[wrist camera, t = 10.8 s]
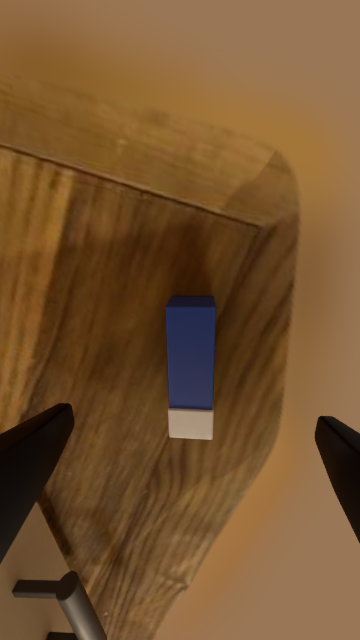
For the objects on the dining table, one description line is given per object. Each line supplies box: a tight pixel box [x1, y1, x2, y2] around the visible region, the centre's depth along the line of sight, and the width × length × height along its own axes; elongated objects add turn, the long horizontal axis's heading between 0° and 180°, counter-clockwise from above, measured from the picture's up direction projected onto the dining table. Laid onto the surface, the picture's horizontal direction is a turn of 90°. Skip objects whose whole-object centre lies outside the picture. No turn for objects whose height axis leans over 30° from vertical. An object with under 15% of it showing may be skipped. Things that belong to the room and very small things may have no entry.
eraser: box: [166, 296, 216, 440], centre depth 12 cm, size 7×2×2 cm, turn 1°
